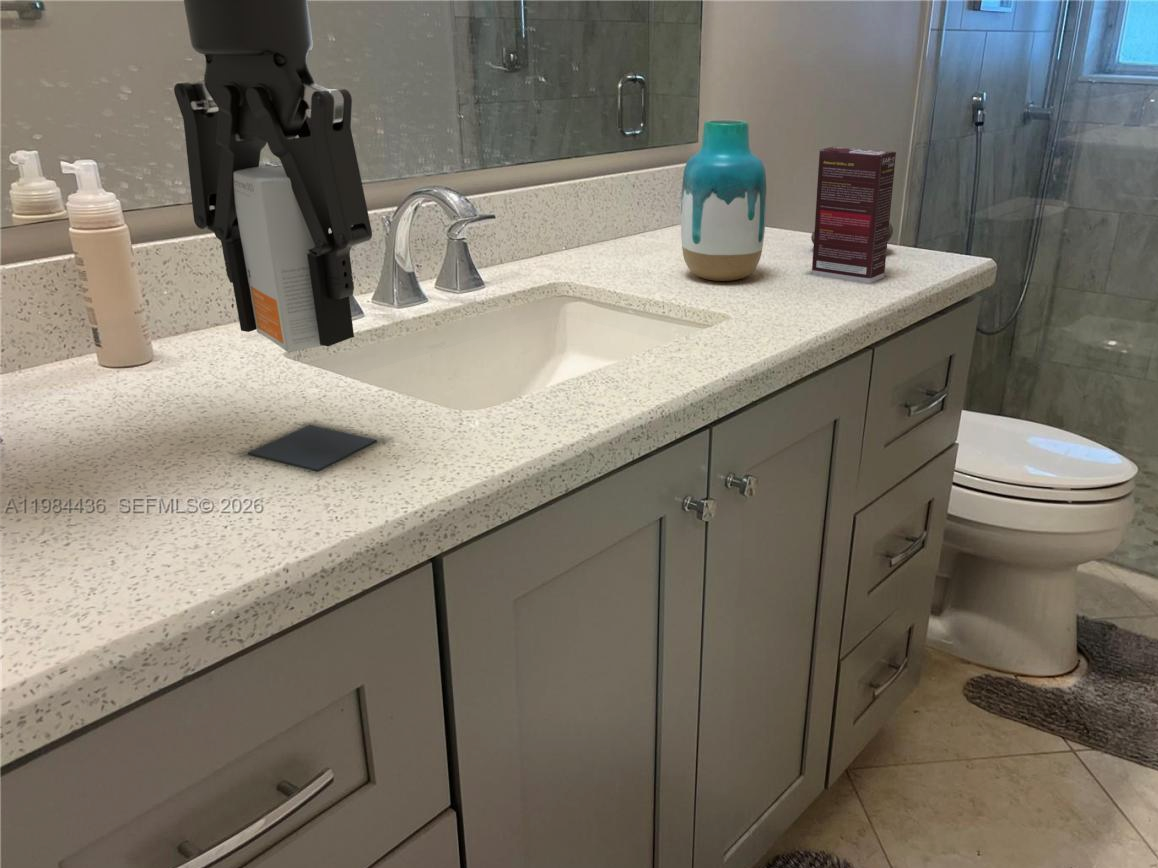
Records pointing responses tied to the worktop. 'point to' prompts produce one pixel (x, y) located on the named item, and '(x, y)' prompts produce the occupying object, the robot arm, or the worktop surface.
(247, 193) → the cosmetic box
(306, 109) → the robot arm
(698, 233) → the vase
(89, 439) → the worktop surface
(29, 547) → the worktop surface
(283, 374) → the worktop surface
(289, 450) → the mat
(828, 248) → the supplement box
